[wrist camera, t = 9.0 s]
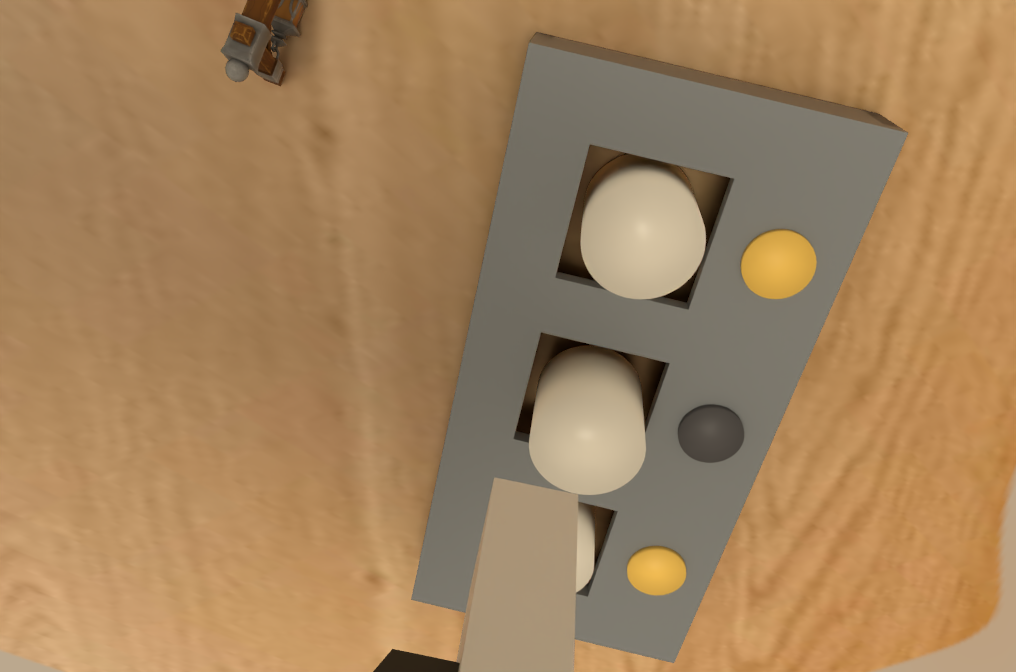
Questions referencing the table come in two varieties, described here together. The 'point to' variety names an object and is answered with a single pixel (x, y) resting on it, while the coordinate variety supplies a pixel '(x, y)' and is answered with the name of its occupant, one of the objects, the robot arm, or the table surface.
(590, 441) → the button
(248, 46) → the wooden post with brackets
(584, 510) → the button
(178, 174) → the table surface
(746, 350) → the console
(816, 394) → the table surface
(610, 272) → the button
